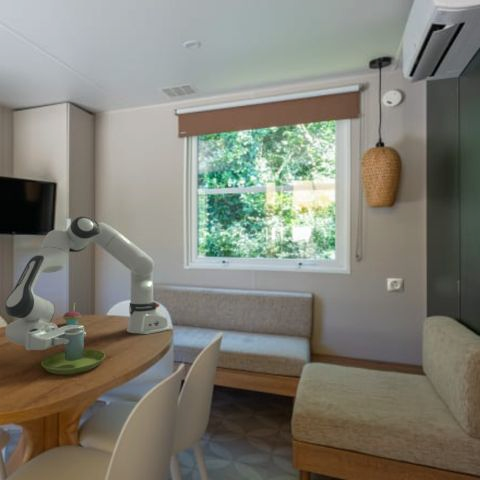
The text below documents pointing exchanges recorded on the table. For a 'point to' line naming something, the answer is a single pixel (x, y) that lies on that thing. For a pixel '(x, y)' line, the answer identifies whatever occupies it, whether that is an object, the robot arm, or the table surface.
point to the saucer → (73, 362)
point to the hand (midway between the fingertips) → (77, 337)
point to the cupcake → (72, 317)
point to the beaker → (74, 344)
